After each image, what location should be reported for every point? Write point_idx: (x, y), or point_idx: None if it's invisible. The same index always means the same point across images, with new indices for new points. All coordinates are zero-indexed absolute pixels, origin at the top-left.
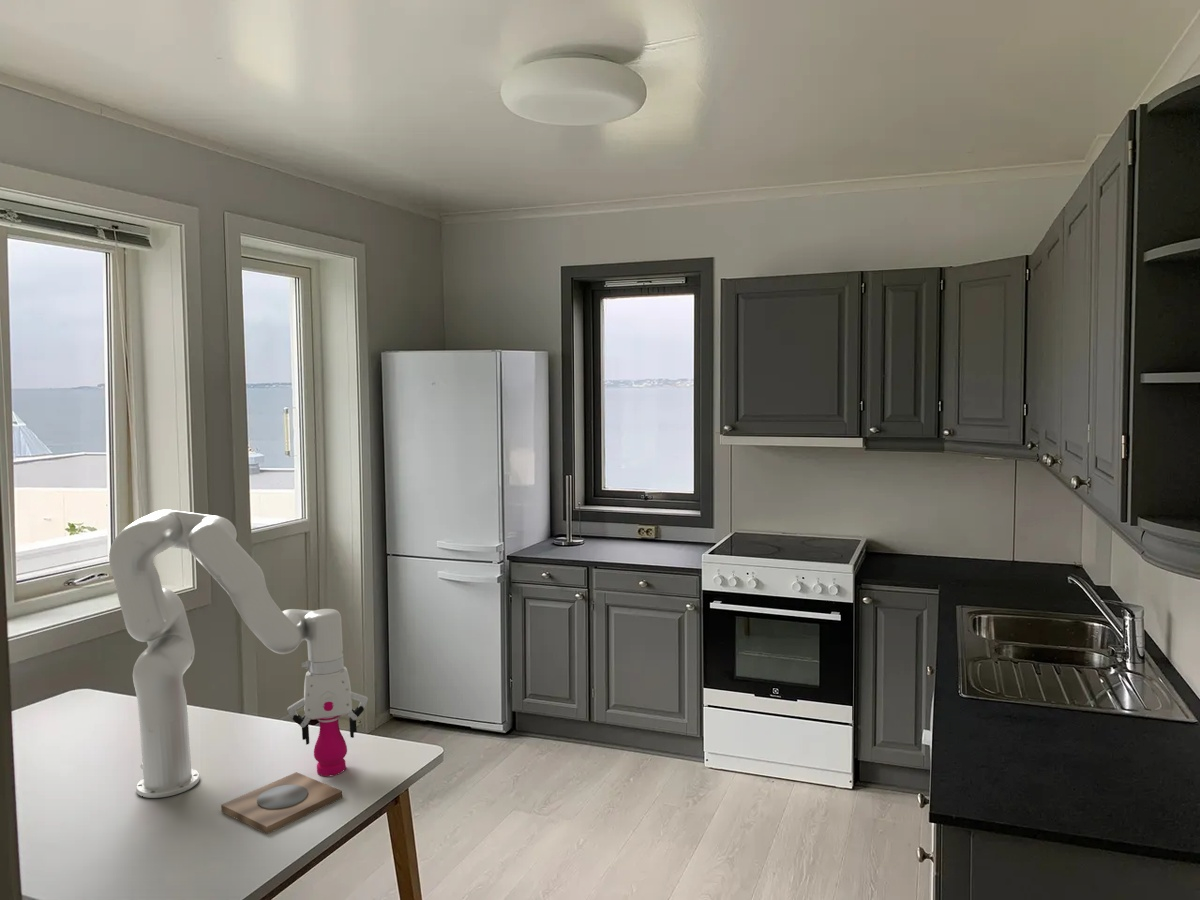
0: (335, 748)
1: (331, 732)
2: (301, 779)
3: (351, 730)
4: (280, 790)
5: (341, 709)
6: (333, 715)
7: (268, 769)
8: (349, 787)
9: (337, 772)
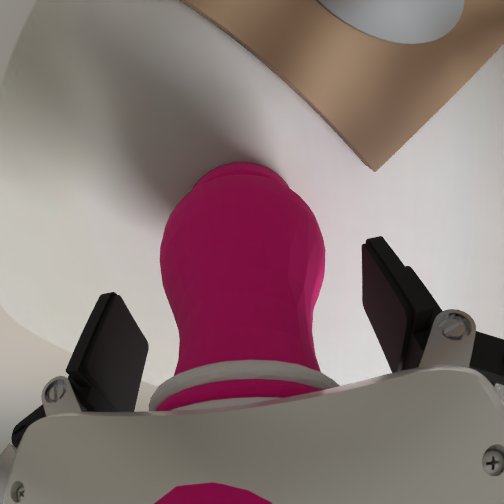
0: (193, 215)
1: (214, 297)
2: (346, 93)
3: (96, 321)
4: (408, 3)
5: (69, 467)
6: (157, 421)
7: (442, 250)
8: (132, 57)
9: (205, 175)
